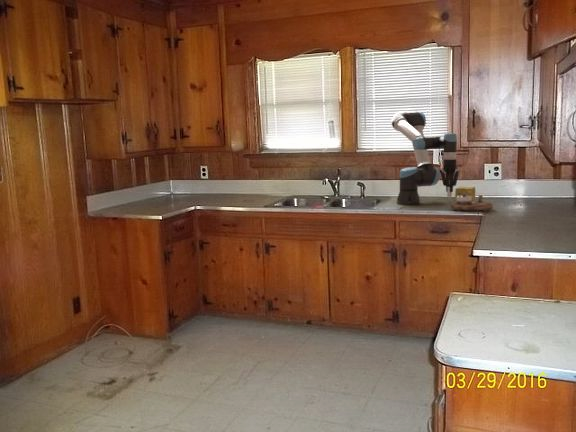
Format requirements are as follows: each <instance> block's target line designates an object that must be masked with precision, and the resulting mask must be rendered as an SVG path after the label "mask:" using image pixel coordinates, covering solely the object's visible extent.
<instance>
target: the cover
mask: <svg viewBox="0 0 576 432" xmlns="http://www.w3.org/2000/svg"><path fill="white" fill-rule="evenodd" d="M456 204H459V205H470V204H472V196H469V195H466V194H465V193H463V194H462V195H459V196H456Z"/></svg>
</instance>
